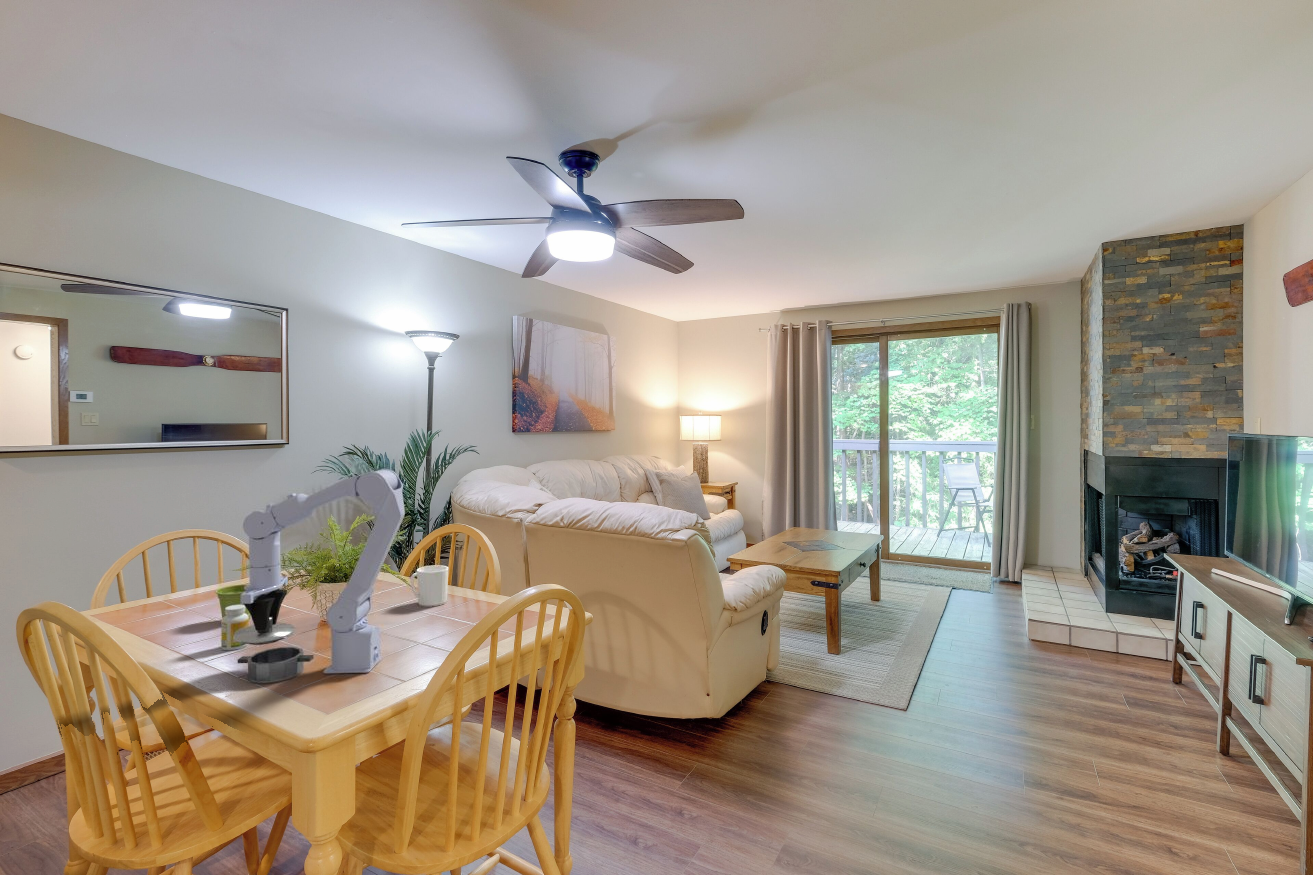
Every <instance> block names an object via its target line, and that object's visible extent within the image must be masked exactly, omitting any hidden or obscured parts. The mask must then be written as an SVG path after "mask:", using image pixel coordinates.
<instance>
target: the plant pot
mask: <svg viewBox="0 0 1313 875" xmlns="http://www.w3.org/2000/svg"><path fill="white" fill-rule="evenodd" d="M249 584H250V583H249ZM249 584H247V583H245V584H235V585H227V586H223V587H220V588H218V589H216V590H215V592H214V593H215V594H216V595H217V598H218V600H219V608H220V612H221V619H222V618H223V617H225V616H226V614H225V608H226V607H229V606H232V605H244V604H241V594H243V593H244V592H245V591H246V590H245V589H244V586H246V585H249ZM244 613H245V614H247V615H248V614H249V611H248V609H247V608H246V607H245V612H244ZM248 617H249V620H250V619H251V615H249V616H248Z"/></svg>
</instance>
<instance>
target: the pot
mask: <svg viewBox="0 0 1313 875" xmlns="http://www.w3.org/2000/svg"><path fill="white" fill-rule="evenodd" d="M312 660H314V654H304V650H303V648H302V647H297V646H280V647H273V648H267V649H264V650H261V651H259V652H255V653H253V654H252V655H248V656H247V655H243V656H241V657H239V658H238V659H237V664H247V680H248V682H249V683H253V684H262V685H265V684H274V683H280V682H284V681H288V680H290V679H293V678H295V677H297V676H298V675H301V673H302V672H303V670H304V663H309V662H311V661H312Z"/></svg>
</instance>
